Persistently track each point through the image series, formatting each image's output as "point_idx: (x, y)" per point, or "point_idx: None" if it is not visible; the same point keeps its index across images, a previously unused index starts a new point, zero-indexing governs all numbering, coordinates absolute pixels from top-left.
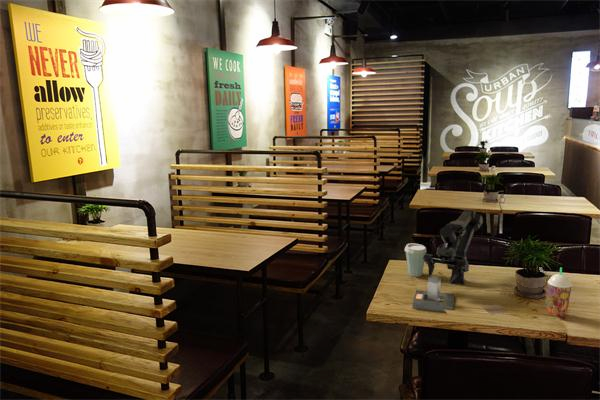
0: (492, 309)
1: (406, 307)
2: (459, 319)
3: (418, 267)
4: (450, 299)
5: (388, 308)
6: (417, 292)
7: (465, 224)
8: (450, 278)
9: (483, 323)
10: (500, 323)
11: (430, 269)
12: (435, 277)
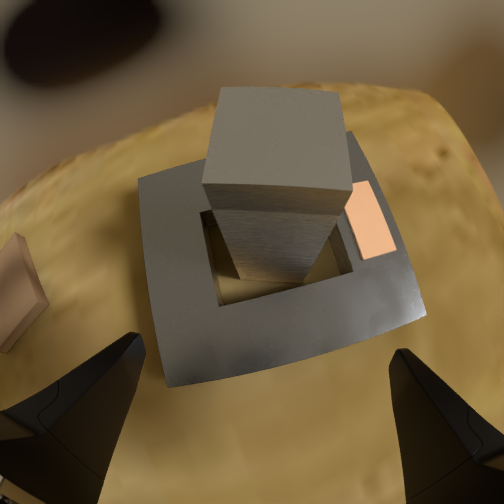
0: (7, 284)
1: (372, 151)
2: (119, 158)
3: None
4: (166, 280)
5: (416, 121)
6: (404, 280)
7: None
8: (121, 352)
9: (48, 181)
10: (9, 214)
11: (450, 412)
12: (266, 133)
